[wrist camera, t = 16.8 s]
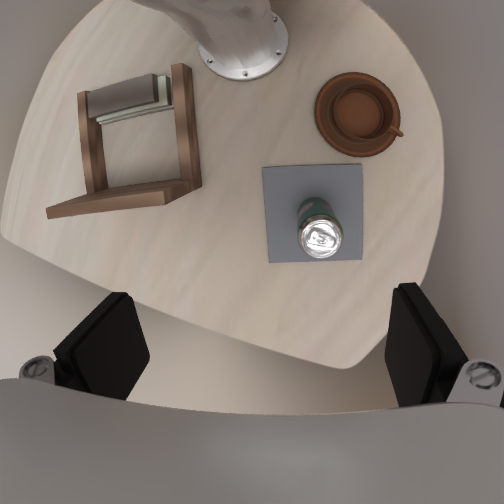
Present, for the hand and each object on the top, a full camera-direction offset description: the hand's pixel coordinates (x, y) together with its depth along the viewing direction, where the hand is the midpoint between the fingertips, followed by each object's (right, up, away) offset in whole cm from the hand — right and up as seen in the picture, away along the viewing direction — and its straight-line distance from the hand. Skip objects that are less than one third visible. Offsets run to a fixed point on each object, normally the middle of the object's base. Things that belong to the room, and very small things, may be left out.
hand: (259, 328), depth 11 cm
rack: (-17, +20, +33) cm, 42 cm away
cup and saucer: (+14, +22, +29) cm, 39 cm away
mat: (+9, +8, +34) cm, 36 cm away
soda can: (+9, +8, +34) cm, 36 cm away
